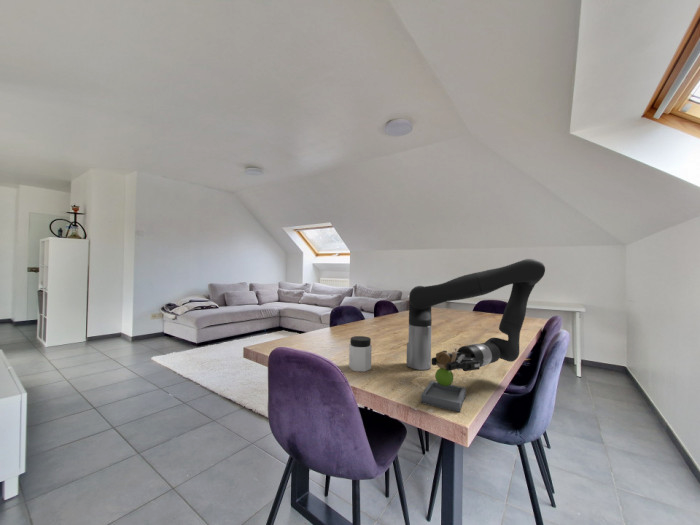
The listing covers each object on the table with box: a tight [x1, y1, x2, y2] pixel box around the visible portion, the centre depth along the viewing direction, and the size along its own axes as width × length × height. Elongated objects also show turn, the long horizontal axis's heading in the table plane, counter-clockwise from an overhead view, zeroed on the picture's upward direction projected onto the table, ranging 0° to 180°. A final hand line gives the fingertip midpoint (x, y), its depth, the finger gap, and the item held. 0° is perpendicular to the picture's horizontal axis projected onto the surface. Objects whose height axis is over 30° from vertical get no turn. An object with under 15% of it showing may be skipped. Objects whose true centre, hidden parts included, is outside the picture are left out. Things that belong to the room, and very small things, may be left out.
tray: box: [420, 380, 467, 413], centre depth 92 cm, size 11×13×2 cm
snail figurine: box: [434, 347, 458, 386], centre depth 92 cm, size 5×6×12 cm
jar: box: [348, 335, 373, 373], centre depth 119 cm, size 9×8×12 cm
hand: (439, 364), depth 91 cm, fingers closed on snail figurine, 5 cm apart
